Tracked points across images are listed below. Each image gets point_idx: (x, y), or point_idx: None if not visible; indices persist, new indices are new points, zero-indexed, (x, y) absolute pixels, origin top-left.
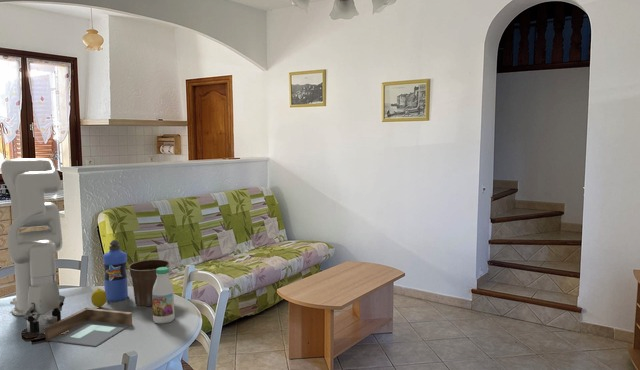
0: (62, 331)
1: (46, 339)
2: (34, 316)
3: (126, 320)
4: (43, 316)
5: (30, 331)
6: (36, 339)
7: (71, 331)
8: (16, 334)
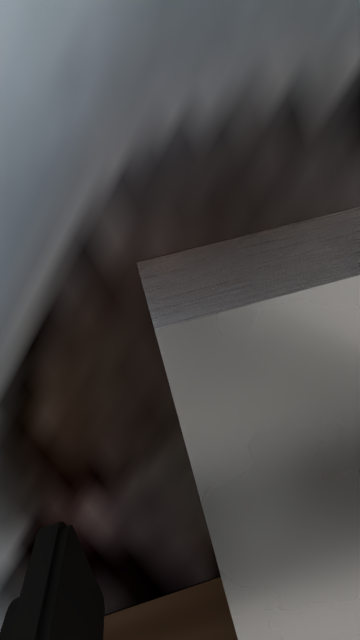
0: None
1: (104, 636)
2: (271, 485)
3: None
4: (343, 612)
5: (39, 536)
6: None
7: None
8: (4, 216)
